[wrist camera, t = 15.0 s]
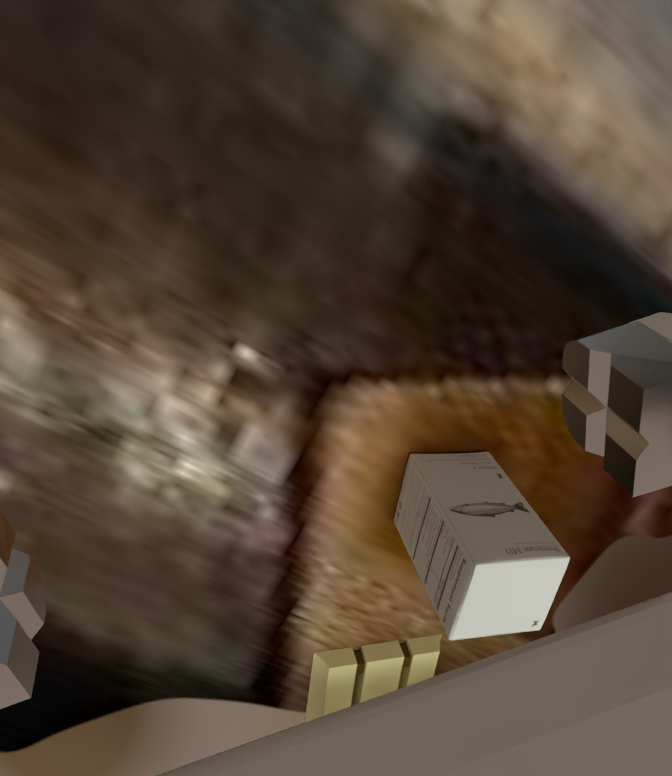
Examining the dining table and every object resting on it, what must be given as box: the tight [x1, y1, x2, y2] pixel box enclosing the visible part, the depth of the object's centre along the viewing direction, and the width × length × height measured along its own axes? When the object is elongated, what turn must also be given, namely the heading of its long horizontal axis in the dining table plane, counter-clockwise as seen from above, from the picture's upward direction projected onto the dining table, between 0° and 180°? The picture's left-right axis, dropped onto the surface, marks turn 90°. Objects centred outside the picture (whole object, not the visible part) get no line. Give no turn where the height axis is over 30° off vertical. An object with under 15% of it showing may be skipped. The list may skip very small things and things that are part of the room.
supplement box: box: [394, 452, 570, 640], centre depth 48 cm, size 7×7×13 cm
